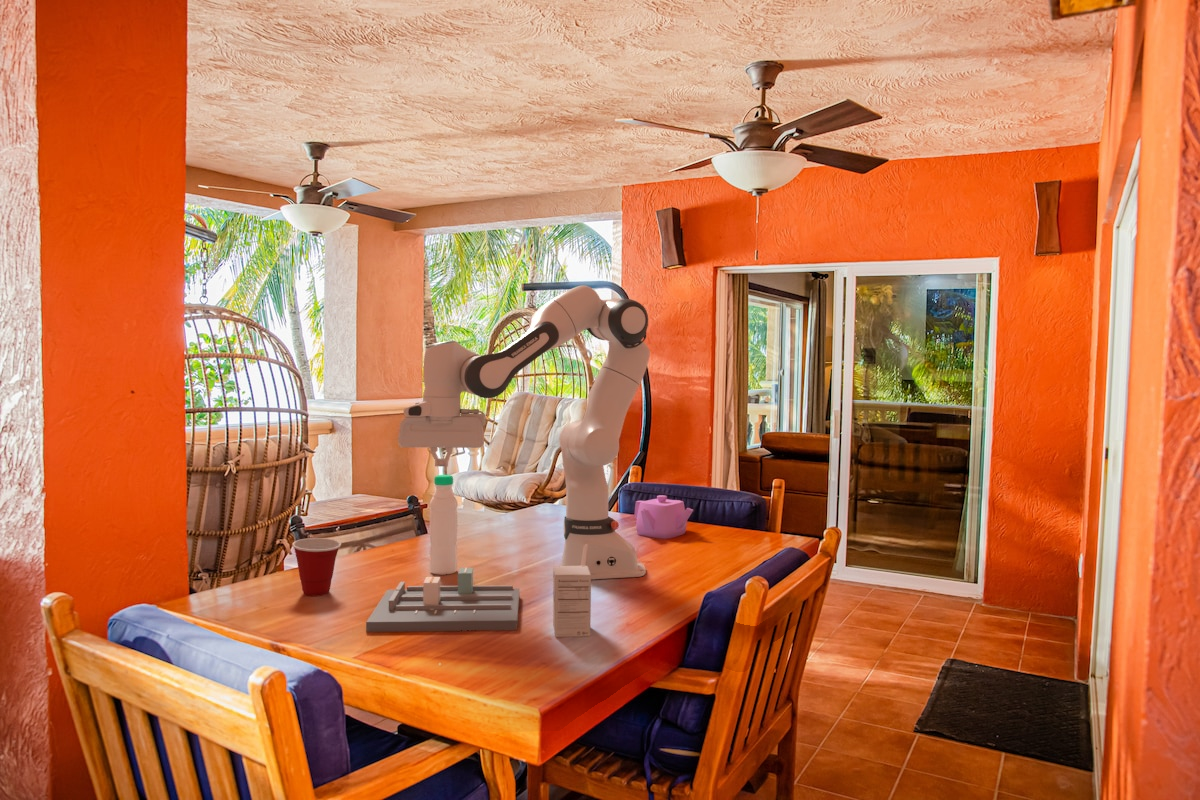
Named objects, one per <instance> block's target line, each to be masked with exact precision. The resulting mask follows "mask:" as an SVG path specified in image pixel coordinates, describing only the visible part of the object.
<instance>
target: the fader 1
mask: <svg viewBox="0 0 1200 800" xmlns="http://www.w3.org/2000/svg"><path fill="white" fill-rule="evenodd" d="M422 584H423V585H422V586H423V605H438V604H439V601H440V586H441V576H426V577H425V579H424V581H423V583H422Z"/></svg>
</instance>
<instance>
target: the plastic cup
mask: <svg viewBox="0 0 1200 800" xmlns="http://www.w3.org/2000/svg"><path fill="white" fill-rule="evenodd" d="M291 546H292V547H293V549H294V553H295V557H296V563H297V569H298V574H299V580H300V584H301V590H302V593H303V595H304V596H309V597H319V596H320V597H321V596H324V595H327V594H329V592H330V589H331V584H332V579H333V576H334V570H335V563H336V559H337V556H338V552H339V549H340V548H341V546H342V542H340V541H339V540H336V539H332V538H325V537H310V538H302V539H298V540H295V541H293V542H292V544H291Z"/></svg>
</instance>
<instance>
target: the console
mask: <svg viewBox="0 0 1200 800" xmlns="http://www.w3.org/2000/svg"><path fill="white" fill-rule="evenodd" d="M519 605H520V588H514V586H513V585H512V584H511V585H505V584H504V585H473V592H472V594H458V585H440V601H439V604H438V605H423V585H408V586H406V581H399V583H398V584H397V586H396V587H395V589H387V590H386V591H385V593H384V595H383V596H382V597H381V599H380V601H379V602H378V603H377V605H376V607H375V608H374V609H373V611H372V613H371V614H370V616H369V617H368V618H367V620H366V622H365V623H366V624H365V625H366V626H365V629H366V630H365V632H366V633H378V632H379V633H384V632H385V633H386V632H387V633H388V632H390V633H393V632H395V633H396V632H397V633H398V632H400V633H402V632H458V631H459V632H465V631H466V632H467V630H469V631H470V632H473V631H474V630H477V632H478V630H489V631H517V630H518V621H519V620H518V619H519ZM461 630H462V631H461ZM471 630H473V631H471ZM469 631H468V632H469Z"/></svg>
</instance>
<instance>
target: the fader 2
mask: <svg viewBox="0 0 1200 800" xmlns="http://www.w3.org/2000/svg"><path fill="white" fill-rule="evenodd" d="M457 586H458V594H472V592H473V586H474V567H468V566H466V567H459V570H458V573H457Z"/></svg>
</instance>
